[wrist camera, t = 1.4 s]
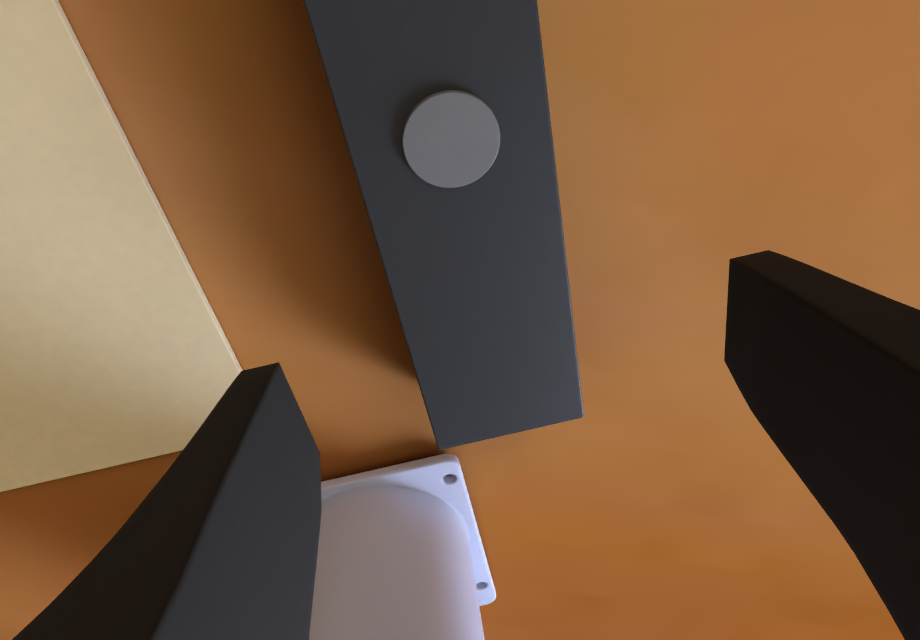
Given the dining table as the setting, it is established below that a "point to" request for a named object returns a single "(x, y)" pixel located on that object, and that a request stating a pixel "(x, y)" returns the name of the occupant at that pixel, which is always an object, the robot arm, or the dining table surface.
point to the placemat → (88, 276)
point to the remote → (461, 201)
